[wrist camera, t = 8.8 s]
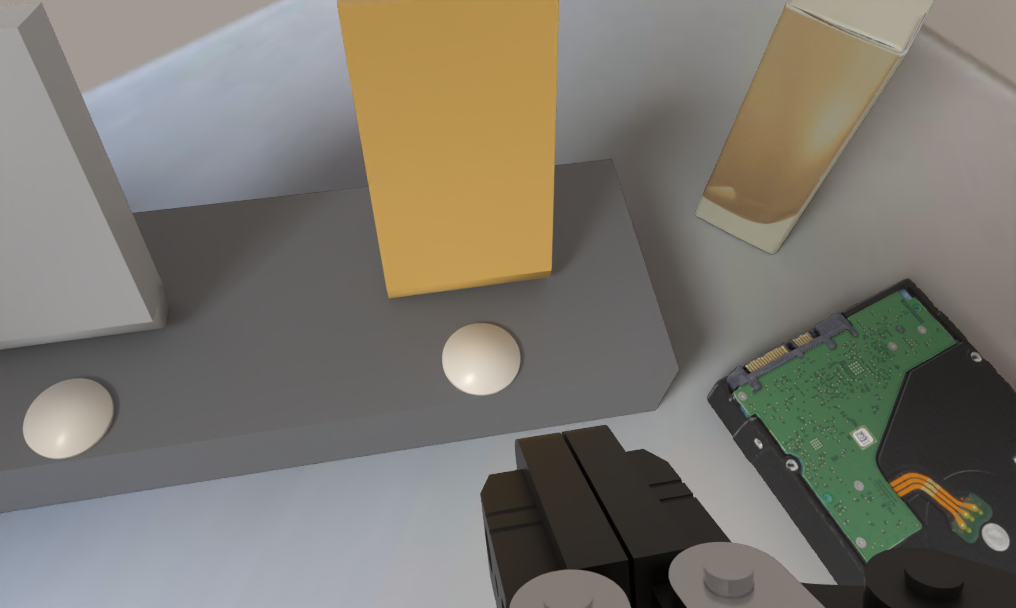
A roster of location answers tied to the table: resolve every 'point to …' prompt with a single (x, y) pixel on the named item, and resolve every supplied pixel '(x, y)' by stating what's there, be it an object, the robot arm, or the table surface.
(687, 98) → the table surface
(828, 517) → the disk drive
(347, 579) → the table surface
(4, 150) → the grey switch
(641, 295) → the dark grey flat block
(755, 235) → the skincare box
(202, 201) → the table surface
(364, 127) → the amber switch
